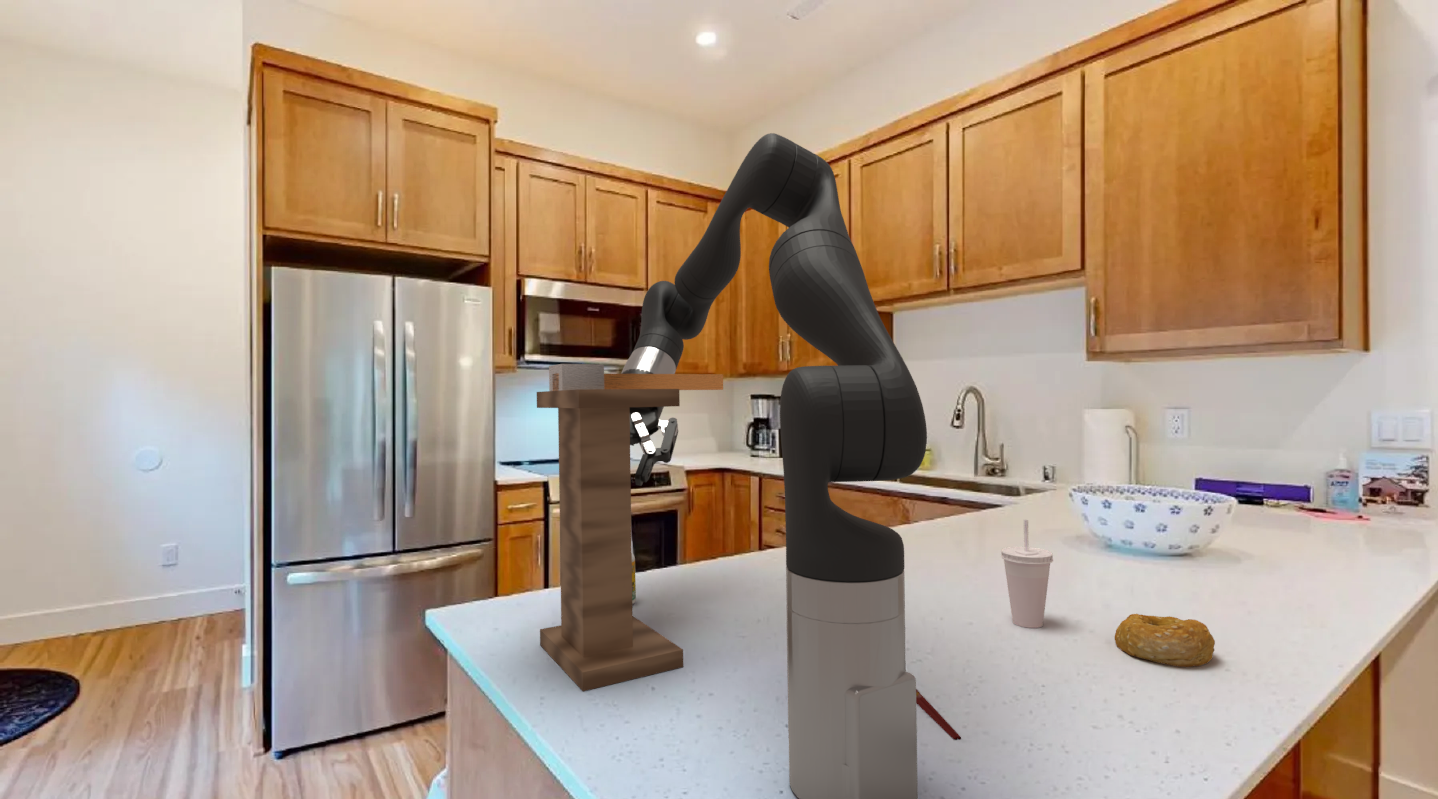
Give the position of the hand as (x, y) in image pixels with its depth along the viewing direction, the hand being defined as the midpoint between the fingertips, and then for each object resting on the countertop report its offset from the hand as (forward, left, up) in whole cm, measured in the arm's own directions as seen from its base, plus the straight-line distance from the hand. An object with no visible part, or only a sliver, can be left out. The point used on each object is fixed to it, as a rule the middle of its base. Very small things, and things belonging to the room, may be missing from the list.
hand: (606, 476), depth 88 cm
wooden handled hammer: (-6, -3, +11) cm, 13 cm away
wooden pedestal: (-6, +2, -21) cm, 22 cm away
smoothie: (-26, -50, -21) cm, 60 cm away
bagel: (-41, -54, -21) cm, 71 cm away
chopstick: (-31, -21, -22) cm, 43 cm away
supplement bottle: (+13, -7, -21) cm, 26 cm away
